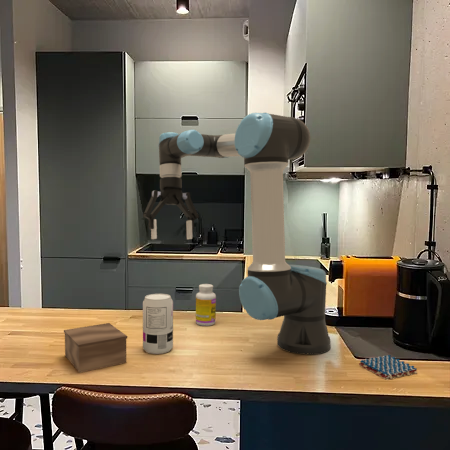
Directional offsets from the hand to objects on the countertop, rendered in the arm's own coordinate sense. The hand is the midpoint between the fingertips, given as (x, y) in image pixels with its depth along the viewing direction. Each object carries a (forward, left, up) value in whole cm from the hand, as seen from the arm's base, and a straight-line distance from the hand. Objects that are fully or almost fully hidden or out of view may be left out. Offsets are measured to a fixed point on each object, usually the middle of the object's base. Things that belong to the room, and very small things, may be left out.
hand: (172, 239), depth 158 cm
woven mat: (-70, -25, -28) cm, 79 cm away
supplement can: (-27, +18, -27) cm, 42 cm away
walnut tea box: (-25, +35, -27) cm, 51 cm away
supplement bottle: (-13, -6, -27) cm, 31 cm away
